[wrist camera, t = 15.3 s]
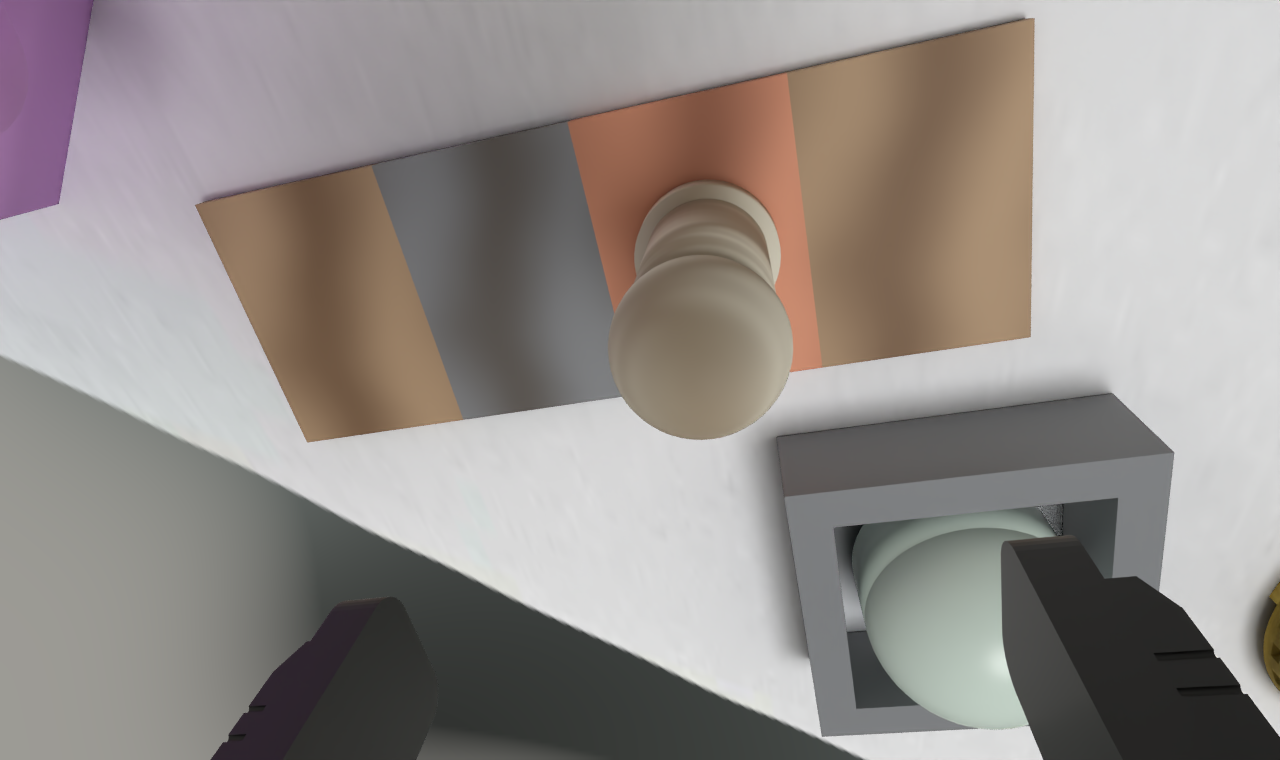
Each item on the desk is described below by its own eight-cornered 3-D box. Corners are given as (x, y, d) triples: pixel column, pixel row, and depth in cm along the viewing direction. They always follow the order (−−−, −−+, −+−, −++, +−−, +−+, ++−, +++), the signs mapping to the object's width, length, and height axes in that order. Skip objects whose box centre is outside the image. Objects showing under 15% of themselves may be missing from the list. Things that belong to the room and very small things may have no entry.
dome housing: (1112, 393, 26) (1174, 452, 22) (1096, 639, 31) (1144, 719, 27) (776, 437, 28) (784, 497, 25) (811, 660, 33) (821, 736, 30)
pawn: (768, 166, 23) (797, 262, 14) (787, 305, 25) (822, 469, 16) (623, 195, 24) (560, 302, 15) (653, 326, 26) (612, 494, 17)
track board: (1026, 18, 21) (1034, 18, 21) (1024, 330, 25) (1030, 337, 25) (205, 201, 26) (194, 204, 26) (314, 434, 31) (307, 442, 30)
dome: (1046, 454, 27) (1153, 598, 20) (1043, 607, 30) (1134, 775, 24) (840, 479, 29) (875, 620, 22) (857, 622, 32) (892, 784, 25)
